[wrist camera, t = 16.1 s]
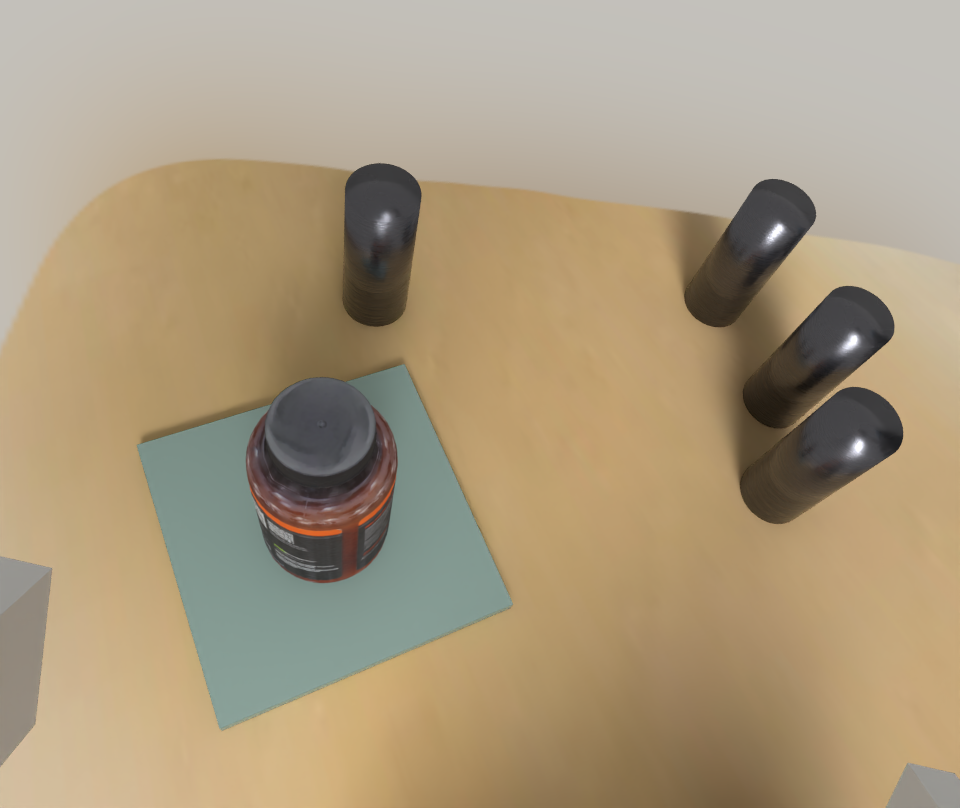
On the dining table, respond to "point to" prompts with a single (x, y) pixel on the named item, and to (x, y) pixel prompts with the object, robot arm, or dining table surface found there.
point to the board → (307, 605)
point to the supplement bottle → (322, 479)
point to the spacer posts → (715, 302)
